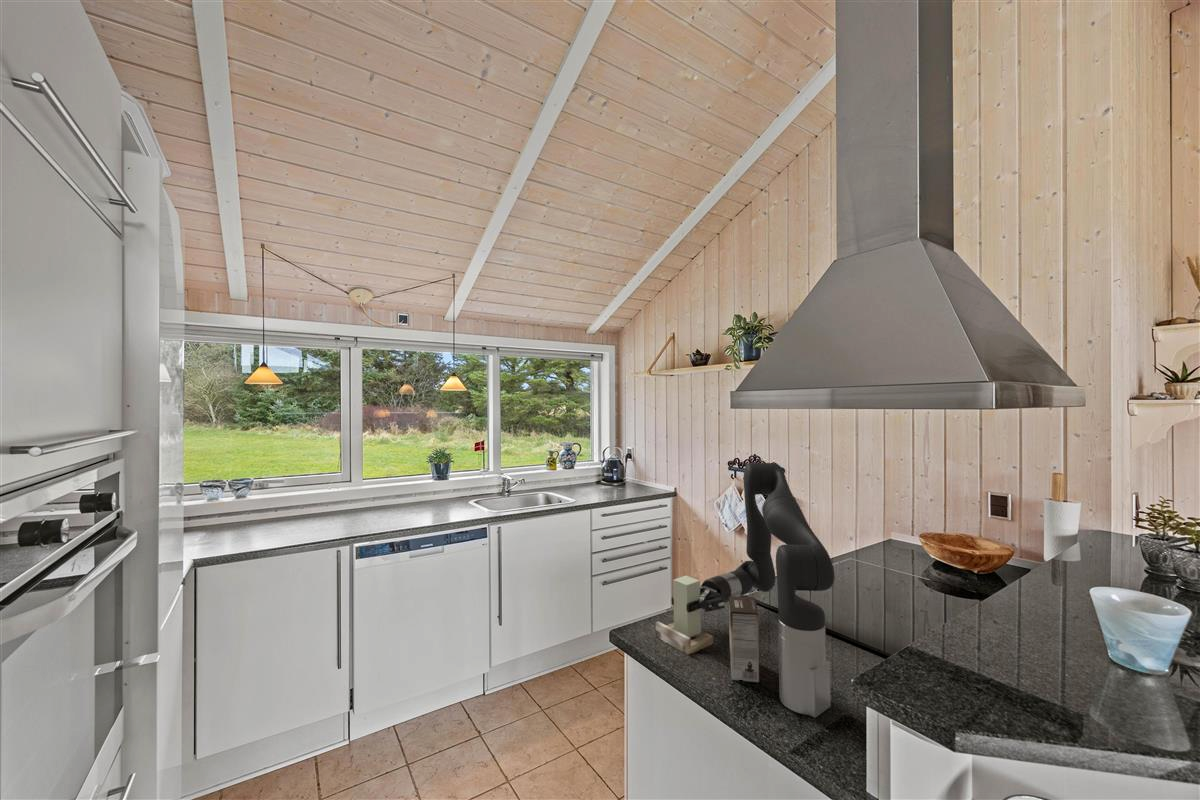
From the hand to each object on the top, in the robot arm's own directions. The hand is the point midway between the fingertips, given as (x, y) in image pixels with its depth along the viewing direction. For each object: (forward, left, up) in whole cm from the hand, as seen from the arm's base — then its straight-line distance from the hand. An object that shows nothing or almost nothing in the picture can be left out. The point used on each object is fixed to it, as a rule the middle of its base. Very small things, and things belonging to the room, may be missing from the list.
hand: (680, 604), depth 131 cm
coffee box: (-19, -2, -10) cm, 22 cm away
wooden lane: (0, -1, -10) cm, 10 cm away
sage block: (0, -3, -8) cm, 8 cm away
